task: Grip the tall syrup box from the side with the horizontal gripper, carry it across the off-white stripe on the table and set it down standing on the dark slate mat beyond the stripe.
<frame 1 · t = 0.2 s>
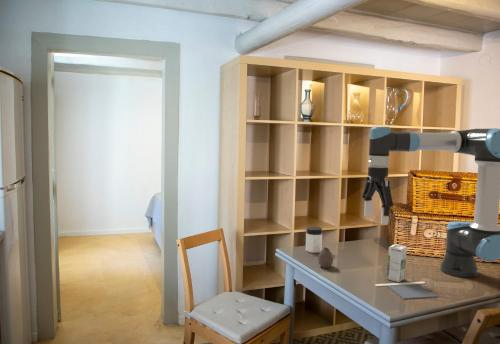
hand: (375, 220, 160), 28 cm above the table, tool pointing down, fingers open, 13 cm apart
jar: (313, 250, 214), on the table
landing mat: (411, 291, 160), on the table
vase: (325, 266, 189), on the table
syrup box: (395, 279, 174), on the table
throw line: (400, 284, 168), on the table
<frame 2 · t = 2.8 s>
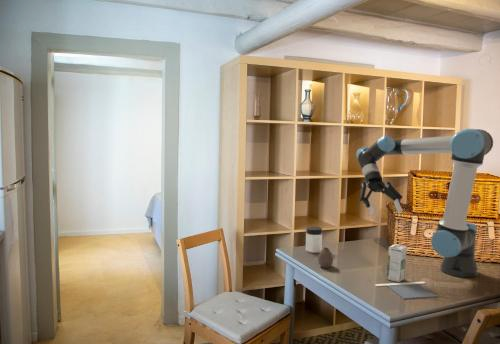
hand: (386, 212, 181), 27 cm above the table, tool tilted 45°, fingers open, 13 cm apart
nothing on the table moved.
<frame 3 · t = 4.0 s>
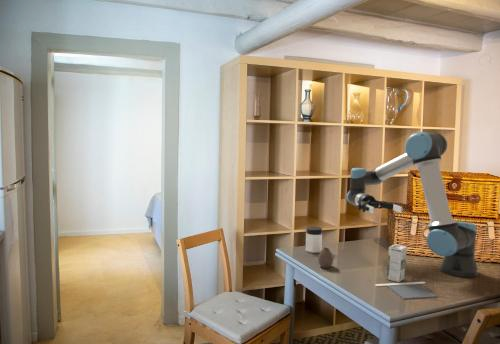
hand: (387, 210, 180), 28 cm above the table, tool horizontal, fingers open, 13 cm apart
nothing on the table moved.
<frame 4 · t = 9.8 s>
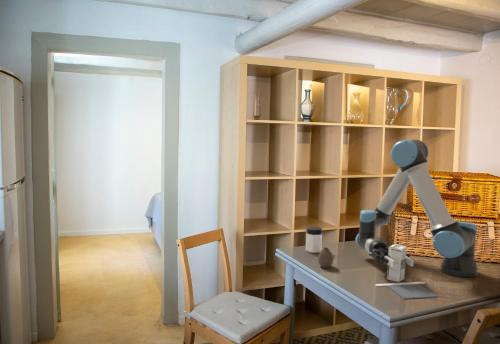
hand: (403, 263, 168), 9 cm above the table, tool horizontal, fingers closed on syrup box, 8 cm apart
syrup box: (395, 279, 174), on the table, touching gripper
everything else where it was.
when the fingers open (10 cm above the table, at t = 15.9 s): syrup box drops 2 cm, resting on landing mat.
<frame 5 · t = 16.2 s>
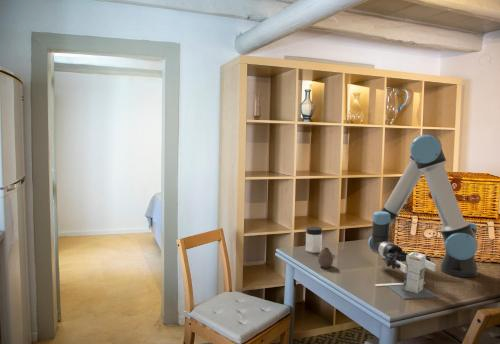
hand: (420, 268, 156), 10 cm above the table, tool horizontal, fingers open, 11 cm apart
syrup box: (413, 290, 161), resting on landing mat
everything else where it was.
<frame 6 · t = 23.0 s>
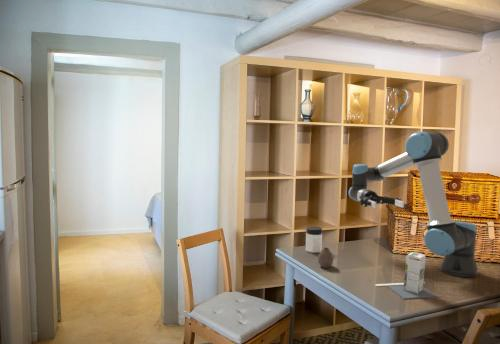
hand: (389, 205, 182), 30 cm above the table, tool horizontal, fingers open, 13 cm apart
nothing on the table moved.
at the end: syrup box inside the target area (0.9 cm from its centre), resting on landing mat; syrup box tilted 0°; the gripper is holding nothing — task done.
